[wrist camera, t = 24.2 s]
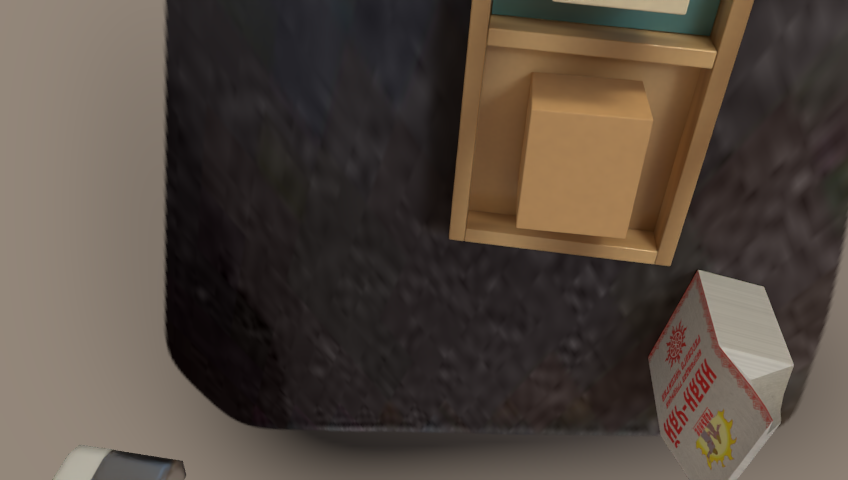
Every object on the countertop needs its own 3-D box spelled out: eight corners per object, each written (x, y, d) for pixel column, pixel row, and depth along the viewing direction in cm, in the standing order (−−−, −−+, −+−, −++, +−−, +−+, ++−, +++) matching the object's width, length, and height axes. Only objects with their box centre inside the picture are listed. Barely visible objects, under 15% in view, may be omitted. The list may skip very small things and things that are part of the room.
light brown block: (517, 183, 38) (515, 228, 35) (531, 71, 35) (530, 109, 31) (618, 193, 38) (625, 239, 35) (643, 80, 34) (653, 119, 31)
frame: (452, 214, 40) (448, 239, 38) (500, -270, 28) (498, -268, 26) (663, 239, 40) (670, 266, 38) (810, -247, 27) (831, -243, 25)
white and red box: (763, 286, 41) (819, 432, 32) (708, 372, 45) (745, 521, 36) (697, 269, 40) (736, 411, 32) (648, 357, 44) (671, 503, 36)
